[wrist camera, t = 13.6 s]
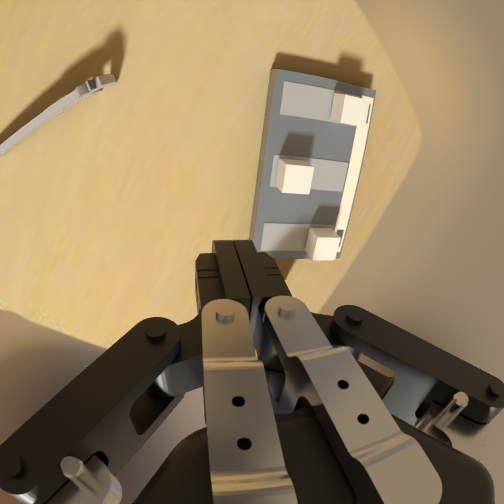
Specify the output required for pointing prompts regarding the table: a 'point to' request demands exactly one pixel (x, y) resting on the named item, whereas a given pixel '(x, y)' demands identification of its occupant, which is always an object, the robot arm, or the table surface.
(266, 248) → the switch board
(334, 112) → the tab
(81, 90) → the caliper
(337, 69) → the table surface
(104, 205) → the table surface
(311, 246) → the tab
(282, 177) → the middle tab
